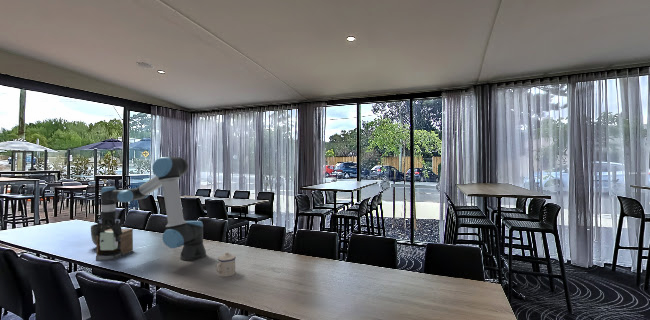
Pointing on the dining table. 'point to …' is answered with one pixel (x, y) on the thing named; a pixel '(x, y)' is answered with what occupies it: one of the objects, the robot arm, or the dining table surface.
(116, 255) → the grey drawer
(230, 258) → the teacup with lid
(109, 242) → the pale green block
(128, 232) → the wood-grain box
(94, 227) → the planter
